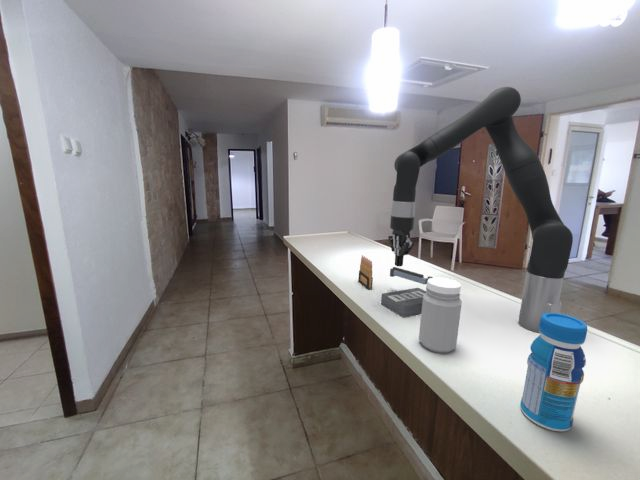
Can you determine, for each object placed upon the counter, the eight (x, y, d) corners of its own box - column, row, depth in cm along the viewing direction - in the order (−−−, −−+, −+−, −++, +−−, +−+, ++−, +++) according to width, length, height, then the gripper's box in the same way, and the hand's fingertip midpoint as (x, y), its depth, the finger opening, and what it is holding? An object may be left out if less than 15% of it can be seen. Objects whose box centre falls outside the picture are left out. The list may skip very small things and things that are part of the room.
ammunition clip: (372, 289, 126) (374, 261, 124) (367, 290, 126) (369, 261, 124) (362, 281, 136) (363, 254, 134) (358, 281, 136) (359, 254, 134)
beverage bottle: (509, 407, 62) (525, 313, 58) (535, 396, 66) (552, 307, 62) (555, 440, 55) (577, 334, 51) (582, 425, 58) (605, 325, 54)
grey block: (442, 309, 109) (445, 282, 107) (403, 317, 101) (406, 288, 99) (418, 297, 120) (420, 272, 118) (380, 304, 112) (382, 277, 110)
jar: (438, 334, 91) (445, 275, 88) (464, 351, 82) (473, 286, 79) (410, 338, 88) (416, 277, 84) (434, 357, 79) (442, 290, 75)
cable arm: (423, 286, 113) (424, 276, 112) (389, 276, 124) (390, 267, 123) (427, 285, 114) (428, 275, 114) (393, 275, 126) (394, 266, 125)
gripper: (424, 217, 98) (419, 270, 101) (402, 212, 110) (398, 260, 113) (403, 217, 96) (398, 272, 99) (382, 212, 108) (379, 261, 111)
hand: (398, 265), depth 106 cm, fingers closed
